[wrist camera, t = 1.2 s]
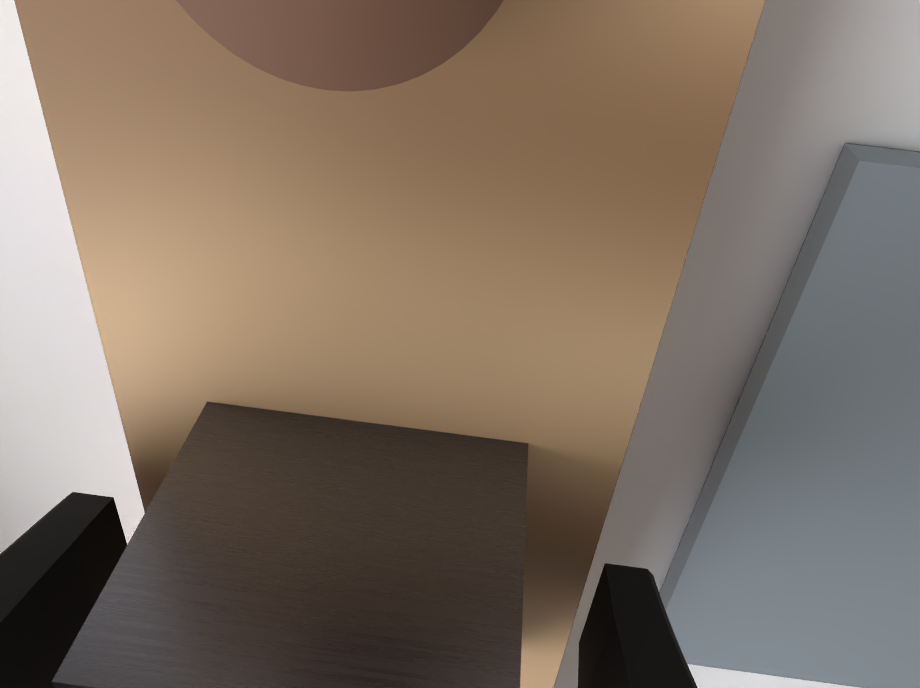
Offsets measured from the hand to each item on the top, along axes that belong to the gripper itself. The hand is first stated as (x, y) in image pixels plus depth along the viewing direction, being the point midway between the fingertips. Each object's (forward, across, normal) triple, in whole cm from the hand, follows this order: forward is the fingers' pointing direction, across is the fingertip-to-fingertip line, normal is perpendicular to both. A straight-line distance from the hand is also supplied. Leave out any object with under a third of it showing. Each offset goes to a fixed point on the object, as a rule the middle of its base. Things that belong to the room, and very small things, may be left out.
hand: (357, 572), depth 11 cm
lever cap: (+1, 0, 0) cm, 1 cm away
